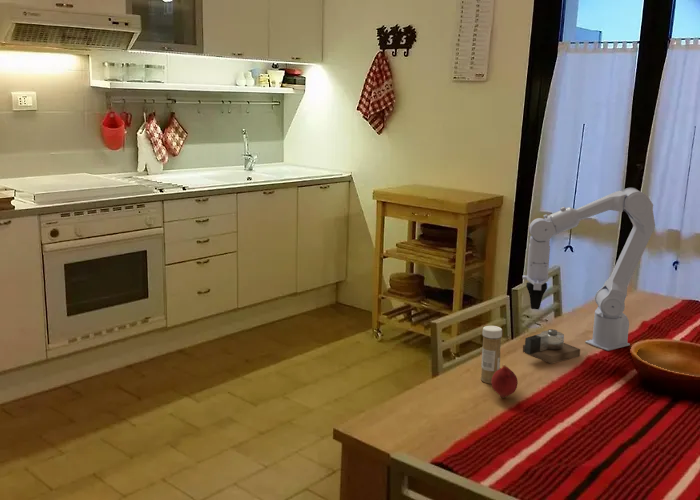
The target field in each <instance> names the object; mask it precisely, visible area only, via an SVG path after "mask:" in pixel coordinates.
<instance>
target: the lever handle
mask: <svg viewBox="0 0 700 500" xmlns="http://www.w3.org/2000/svg"><path fill="white" fill-rule="evenodd" d="M564 340H565V334H564V333H563V332H560V331H558V330H557V329H552V328H551V329H548V330H543V331H541V332H540V333H537V334H534V335H532V336H528V337H525V341H524V345H525V353H524V354H526V355H529V354H533V353H536V352H540V351H543V350H546V349H562V348H563V343H565V342H564Z"/></svg>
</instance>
